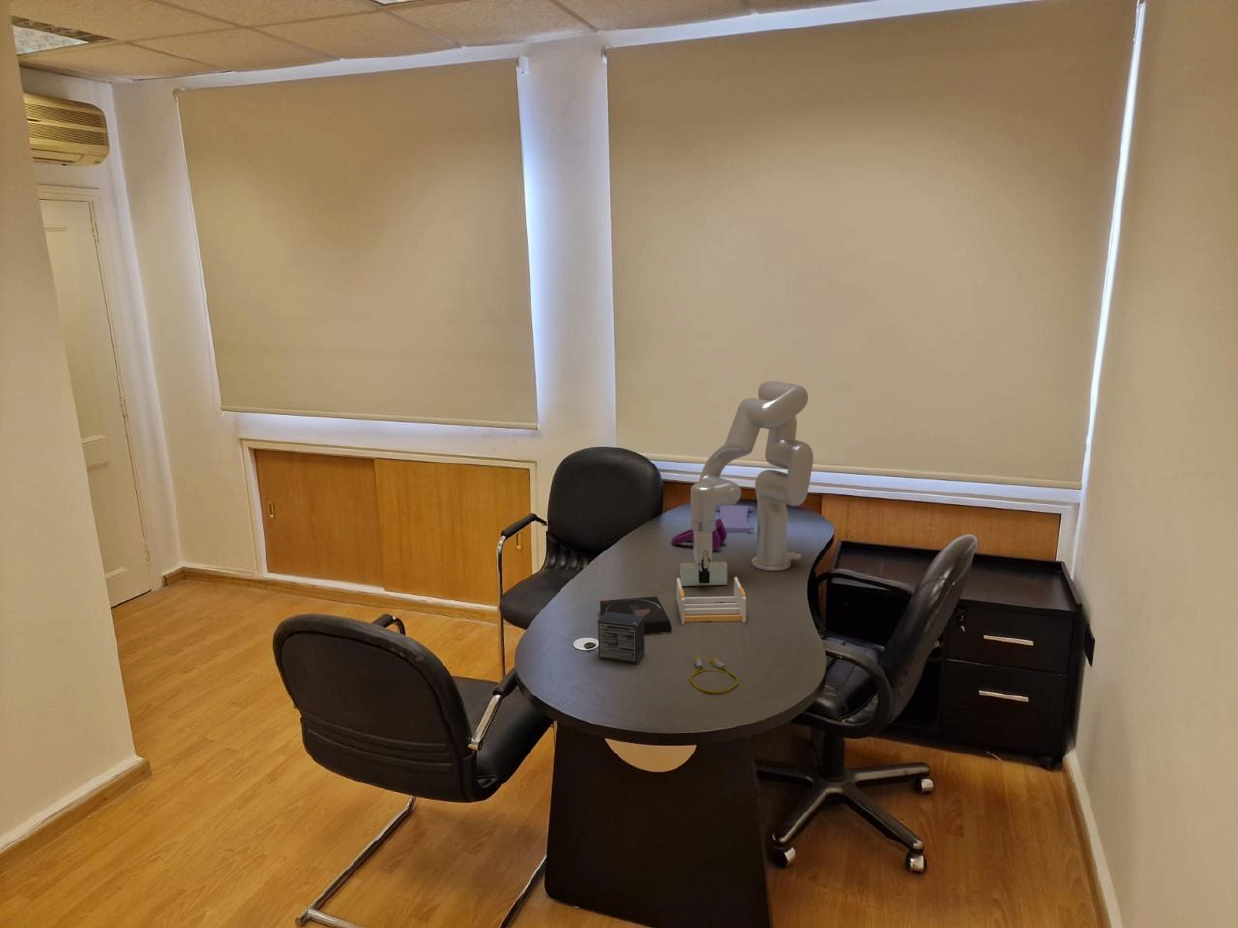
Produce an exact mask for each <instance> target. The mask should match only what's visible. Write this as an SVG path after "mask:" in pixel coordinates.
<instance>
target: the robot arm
mask: <svg viewBox="0 0 1238 928" xmlns="http://www.w3.org/2000/svg"><path fill="white" fill-rule="evenodd" d="M757 394H758V398H756V397H755V398H753V397H752V398H751V397H750V398H749V397H748V398H745V399H743V400H742V401H741V402H740V403H739V406H738V408H737V410H736V412H735V416H734V418H733V421H732V424H731V427H730V429H729V431H728V434H727V437H726V439H725V441H724V443H723V445H722V446H720V447H719V448H718V449H716V451H715V452H714V453H712V455H711V456H710V457H709V458H708V459H707V461H706V462H705V464H704V466H703V469H702V471H701V474H700V476H699V480H698V483H694V484H693V485H691V488H690V529H691V530H693V531H694V539H693V541H692V542H693V543H692V544H693V545H692V546H693V548H692V554H693V558H694V561H695V562H694V563H697V564H698V563H700V571H699V583H710V570H709V562H710V563H711V562H713V552H712V531H714V530H715V529H716V520H717V509H716V507H717V506H729V505H734V504H735V503H736V504H737V503H738V502H739V501H740V499H741V496H742V489H741V487H740V485H739V484H738V483H736V482H734V481H731V480H729V479H725V478H723V477H720V476H721V474H722V472H723V470H724V469H725V467H726V466H727V465H728V464H729V463H731V462H732V461H735V460H738V459H739V458H743V457H745V456H749V455H750V454H751V453H752V452H753V449H754V446H755V444H756V441H757V439H758V436H759V433H760V431H761V428H762V429H765V430H768V433H767V441H766V446H765V451H764V452H765V455H764V456H765V460H766V462H767V463H768V464H769V465H771V466H774V467H777V468H781V469H785V470H787V472H783V471H780V470H775V469H765V470H762V471H761V472H760V473H758V475H757V477H756V478H755V481H754V483H755V484H754V489H755V494H756V500H757V526H756V527H757V531H756V536H757V537H756V556H754V557H753V558H752V559H751V565H752V566H753V567H754V568H756V569H759V570H763V571H770V572H776V571H777V572H778V571H784V570H788V569H789V568H790V567H791V565H792V563H791V561H801V560H802V554H801V553H796V552H795V551H794V552H793V551H791V552H788V550H787V548H788V547H787V546H788V545H787V543H788V542H787V541H788V540H787V539H788V521H789V520H788V508H787V506H791V507H798V506H800V505H802V504H803V503H804V501H805V500H806V499H807V496H808V492H809V488H810V487H809V486H810V483H811V476H812V470H813V464H814V453H813V448H811V446H810V444H808V443H807V442H805V441H802V440H797V439H796V434H797V427H798V421H797V419H798V418H797V415H798V414H800V413H801V412H802V411H803V410H804V409H805V408H806V406H807V404H808V401H809V393H808V392H807V389H806V388H805V387H804V386H802V385H800V384H795V383H789V382H788V383H787V382H782V381H773V380H769V381H764V382H762V383H761V384H760V385H759V387H758V391H757ZM702 564H703V565H702Z"/></svg>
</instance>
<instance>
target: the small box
mask: <svg viewBox="0 0 1238 928" xmlns="http://www.w3.org/2000/svg"><path fill="white" fill-rule="evenodd" d="M597 627H598V629H597V630H598V637H597V638H598V659H599V660H605V661H614V662H620V663H627V664H636V665H638V664H639V662H640V661H641V659H642V658H643V657H644V655H645V635H644V616H638V615H630V614H622V613H613V612H605V613H604V614H603V615H602V616H600V617H599V619H598V620H597Z"/></svg>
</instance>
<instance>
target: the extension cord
mask: <svg viewBox="0 0 1238 928" xmlns="http://www.w3.org/2000/svg"><path fill="white" fill-rule="evenodd" d="M709 664H710V665H711V666H712V667H715V668H717V669H719V670H717V669H716V670H715V669H709V668H708V669H703V661H702V659H701V657H700V656H696V657H694V665H695V667H696V668H697V669H696V670H695V672H694V673H692V674H691V675H690V677H689V681H690V684H691V685H692V686H693V687H694V688H695V689H696V690H698V691H700V692H702V693H708V694H713V695H723V694H726V693H730V692H731V691H733V690H734V689H736V687H738V685H739V683H740V680H739V677H737V676H736V674H734V673H733V672H732V671H730V670H729V669H728V668H726V665H725V664H724V662H722V661H720V660H719V659H718V657H712V658H711V659H710V662H709ZM724 670H725V671H724ZM702 672H717V673H723V674H727V675H730V676H732V677H734V678H735V679H736V682H735V683H734V684H733V685H732V686H731V687H728V688H725V689H722V690H707V689H704V688H702V687H700V686H698V685H696V684H695V683H694V681H692V680H693V677H694V676H696V675H697V674H700V673H702Z"/></svg>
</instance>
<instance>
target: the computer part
mask: <svg viewBox="0 0 1238 928" xmlns="http://www.w3.org/2000/svg"><path fill="white" fill-rule="evenodd" d="M716 510H719V516H718V517H719V518H718V519H720V518H721V520H722V523H723V525H724V527H725V529H726V532H727V533H748V534H749V531H755V527H754V526H752V525H751V526H749V521H748V518H747V516H748V515H749V511H753V510H754V506H751V505H750V506H749V505H737V502H736V503H735V504H733V505H729V506H717V507H716Z"/></svg>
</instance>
